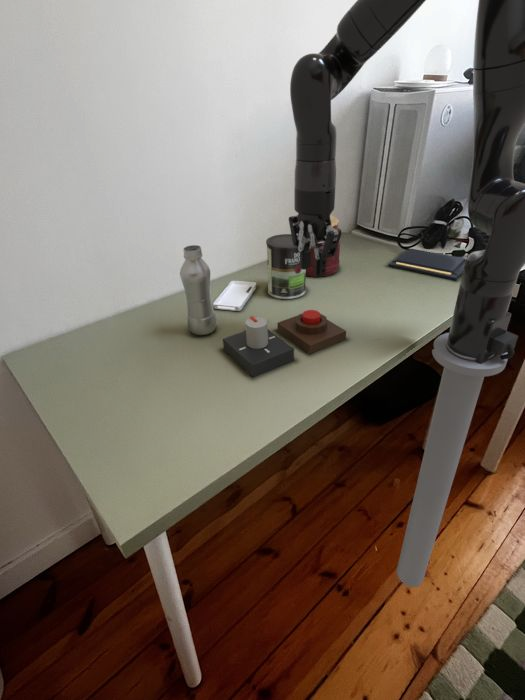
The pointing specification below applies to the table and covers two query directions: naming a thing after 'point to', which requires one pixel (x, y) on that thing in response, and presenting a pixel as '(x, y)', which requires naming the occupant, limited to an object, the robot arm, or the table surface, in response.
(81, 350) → the table surface
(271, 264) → the coffee can
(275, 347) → the dial console
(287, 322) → the power button base
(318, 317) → the power button
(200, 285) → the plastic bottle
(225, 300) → the phone case
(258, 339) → the brew dial
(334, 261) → the kitchen canister
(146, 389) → the table surface
